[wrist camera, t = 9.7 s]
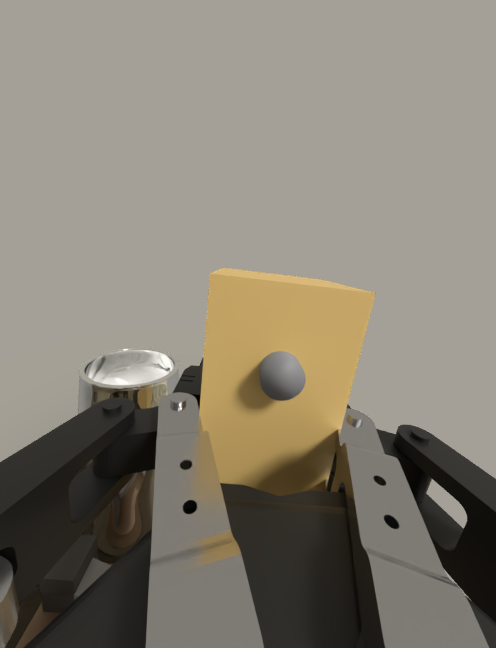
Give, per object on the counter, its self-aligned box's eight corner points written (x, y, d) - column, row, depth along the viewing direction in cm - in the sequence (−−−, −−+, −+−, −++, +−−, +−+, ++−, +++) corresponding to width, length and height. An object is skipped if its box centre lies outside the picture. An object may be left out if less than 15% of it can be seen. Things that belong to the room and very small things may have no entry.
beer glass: (112, 588, 17) (105, 403, 13) (71, 520, 21) (57, 360, 17) (189, 513, 23) (200, 366, 19) (146, 470, 26) (148, 340, 22)
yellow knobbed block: (180, 630, 9) (206, 274, 6) (204, 490, 14) (224, 267, 11) (297, 636, 9) (389, 296, 6) (277, 496, 15) (318, 278, 11)
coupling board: (-63, 800, 10) (-86, 754, 9) (67, 569, 18) (63, 529, 17) (309, 807, 11) (328, 764, 10) (282, 583, 18) (291, 545, 17)
